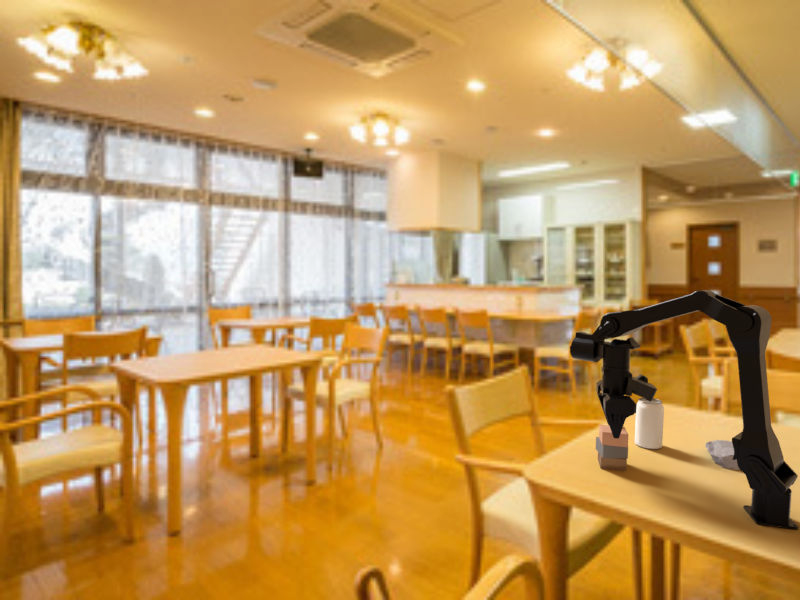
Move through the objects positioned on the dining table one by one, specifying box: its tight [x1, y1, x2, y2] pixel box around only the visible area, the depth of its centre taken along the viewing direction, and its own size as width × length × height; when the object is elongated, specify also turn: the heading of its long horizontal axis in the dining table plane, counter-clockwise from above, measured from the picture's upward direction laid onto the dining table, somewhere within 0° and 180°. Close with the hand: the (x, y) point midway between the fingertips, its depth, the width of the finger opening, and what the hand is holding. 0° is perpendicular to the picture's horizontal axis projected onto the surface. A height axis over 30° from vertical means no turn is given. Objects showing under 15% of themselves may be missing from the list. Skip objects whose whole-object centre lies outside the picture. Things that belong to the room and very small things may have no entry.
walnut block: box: [597, 451, 628, 472], centre depth 113 cm, size 6×6×3 cm
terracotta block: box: [598, 424, 629, 448], centre depth 113 cm, size 6×6×3 cm
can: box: [634, 397, 665, 450], centre depth 126 cm, size 6×6×12 cm
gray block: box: [595, 436, 629, 460], centre depth 113 cm, size 6×6×3 cm
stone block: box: [704, 439, 741, 471], centre depth 117 cm, size 12×5×10 cm
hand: (613, 431), depth 112 cm, fingers open, 9 cm apart
